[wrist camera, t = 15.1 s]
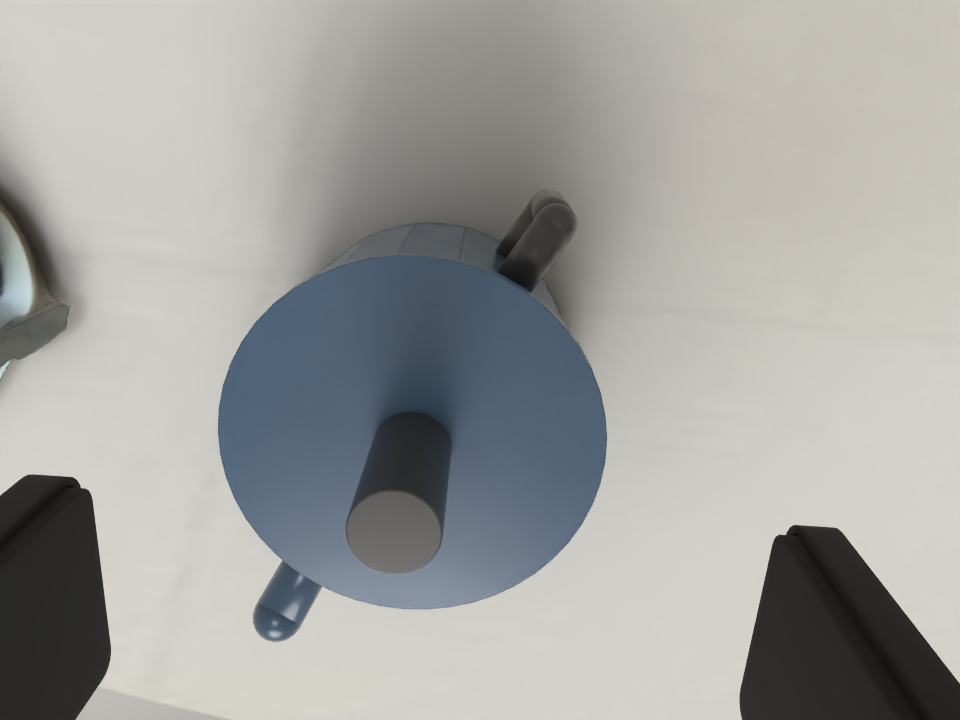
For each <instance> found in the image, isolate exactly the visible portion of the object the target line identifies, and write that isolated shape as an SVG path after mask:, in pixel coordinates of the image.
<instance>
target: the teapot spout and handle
mask: <svg viewBox="0 0 960 720" xmlns="http://www.w3.org/2000/svg"><path fill="white" fill-rule="evenodd" d="M576 227H577V220H576V216H575V214H574V212H573V211H572V209H571V208H570V207H569V205H568V204H567V203H566V201H565V200H564V199H563V197H562V196H561V195H560V194H559V193H558V192H556V191H553V190H543V191H540V192H538V193H537V194H536V195H535V196H534V197H533V198H532V200H531V201H530V202H529V204H528V205H527V207H526V208H525V209H524V211H523V212H522V214H521V215H520V217H519V218H518V219H517V221H516V222H515V224H514V225H513V226H512V228H511V229H510V231H509V232H508V234H507V235H506V236H505V238H504V239H503V241H502V242H501V243H500V245H499V246H498V248H497V249H496V251H497V252H498V253H499V254H501V255H502V256H504V257H506V259H505V261H504V262H503V264H502V265H501V266H500V268H499V269H498V271H497V272H498V273H499V274H501V275H503V276H505V277H507V278H508V279H510V280H512V281H513V282H515V283H517V284H519V285H520V286H522V287H524V288H525V289H527V290H528V291H529V292H530V293H531V292H532V291H533V289H534V288H535V287H536V285H537V284H538V283H539V281H540V280H541V279H542V277H543V276H544V274H545V273H546V272H547V270H548V269H549V268H550V266H551V265H552V264H553V262H554V261H555V259H556V258H557V257H558V255H559V254H560V253H561V251H562V250H563V249H564V247H565V246H566V245H567V243H568V242H569V240H570V239H571V238H572V236H573V235H574V233H575V231H576ZM321 588H322V586H321V585H319V584H317V583H315V582H313V581H312V580H310V579H309V578H307V577H305V576H304V575H302V574H301V573H299V572H298V571H296V570H295V569H293V568H292V567H291V566H290V565H288V564H287V563H286V562H285V561H284V560H282V562H281V563H280V565H279V567H278V568H277V570H276V572H275V574H274V575H273V577H272V579H271V580H270V582H269V584H268V585H267V587H266V589H265V591H264V592H263V594H262V596H261V597H260V599H259V601H258V602H257V604H256V607H255V609H254V612H253V624H254V627H255V629H256V631H257V633H258V634H259V635H260V636H261V637H262V638H264V639H266V640H268V641H273V642H280V641H284V640H286V639H288V638H290V637H292V636H293V635H294V634H295V633H296V632H297V631H298V629H299V628H300V626H301V624H302V623H303V621H304V619H305V617H306V615H307V613H308V612H309V610H310V608H311V606H312V604H313V603H314V601H315V599H316V597H317V595H318V593H319V592H320V590H321Z"/></svg>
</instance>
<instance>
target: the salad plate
mask: <svg viewBox="0 0 960 720" xmlns="http://www.w3.org/2000/svg"><path fill="white" fill-rule="evenodd" d="M69 308H70V306H69V305H67V304H64V303H61V302H59V301H55V300H53V299H52V298H51V296H50V294H49V292H48V290H47V288H46V286H45V284H44V281H43V278H42V275H41V271H40V268H39V265H38V262H37V259H36V257H35V254H34V252H33V249H32V247H31V244H30V242H29V239H28V237H27V235H26V233H25V231H24V229H23V227H22V226H21V224H20V222H19V220H18V219H17V217H16V216H15V214H14V213H13V211H12V210H11V209H10V207H9V206H8V205H7V204H6V203H5V202H4V200H3V199H2V198H1V197H0V379H1V377H2V374H3V373H4V371H5V370H6V368H7V366H8V364H9V363H10V362H11V360H12V359H14V358H16V359H22V358H25V357H26V356H28V355H30V354H32V353H34V352H35V351H37V350H39V349H40V348H42V347H44V346H45V345H46V344H48V343H50V342H51V341H52V340H53V339H54V338H56V337H57V336H58V335H59V334H61V333H62V332H63V331H64V330H65V329H66V323H67V315H68V313H69Z"/></svg>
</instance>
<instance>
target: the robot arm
mask: <svg viewBox="0 0 960 720" xmlns="http://www.w3.org/2000/svg"><path fill="white" fill-rule="evenodd" d="M110 656H111V645H110V637H109V629H108V621H107V613H106V605H105V597H104V589H103V581H102V573H101V565H100V557H99V549H98V541H97V533H96V525H95V517H94V508H93V500H92V496H91V494H90V492H89V491H88V490H87V489H82V488H81V487H80V484H79V483H78V481H77V480H76V479H75V478H73V477H62V476H47V475H27V476H25V477H23V478H22V479H20V480H19V481H18V482H17V483H15V484H14V485H13V486H12V487H10V488H9V489H8V490H7V491H6V492H4V493H3V494H2V495H1V496H0V720H75V719H76V718H77V716H78V715H79V713H80V712H81V710H82V709H83V707H84V706H85V705H86V703H87V702H88V700H89V699H90V697H91V696H92V694H93V693H94V691H95V690H96V688H97V687H98V685H99V684H100V682H101V681H102V679H103V678H104V676H105V674H106V672H107V669H108V666H109V662H110ZM740 711H741V717H742V720H960V684H959V682H958V681H957V680H956V678H955V677H954V676H953V675H952V673H951V672H950V671H949V669H948V668H947V667H946V666H945V664H944V663H943V662H942V660H941V659H940V658H939V657H938V655H937V654H936V653H935V651H934V650H933V649H932V648H931V646H930V645H929V644H928V642H927V641H926V640H925V639H924V637H923V636H922V635H921V633H920V632H919V631H918V630H917V628H916V627H915V626H914V624H913V623H912V622H911V621H910V619H909V618H908V617H907V615H906V614H905V613H904V611H903V610H902V609H901V608H900V606H899V605H898V604H897V602H896V601H895V600H894V599H893V597H892V596H891V595H890V593H889V592H888V591H887V590H886V588H885V587H884V586H883V584H882V583H881V582H880V581H879V579H878V578H877V577H876V575H875V574H874V573H873V572H872V570H871V569H870V568H869V566H868V565H867V564H866V563H865V561H864V560H863V559H862V557H861V556H860V555H859V554H858V552H857V551H856V550H855V548H854V547H853V546H852V545H851V543H850V542H849V541H848V539H847V538H846V537H845V536H844V534H843V533H842V532H841V531H840V530H839V529H837V528H830V527H815V526H800V525H793V526H792V527H790V529H789V530H788V532H787V534H786V535H778V536H776V538H775V540H774V542H773V545H772V549H771V554H770V559H769V563H768V568H767V572H766V577H765V581H764V586H763V590H762V595H761V599H760V604H759V608H758V613H757V617H756V622H755V626H754V631H753V635H752V640H751V644H750V649H749V654H748V658H747V663H746V667H745V672H744V676H743V681H742V685H741V690H740Z"/></svg>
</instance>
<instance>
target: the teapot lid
mask: <svg viewBox="0 0 960 720" xmlns="http://www.w3.org/2000/svg"><path fill="white" fill-rule="evenodd" d="M218 436H219V446H220V455H221V459H222V463H223V467H224V471H225V475H226V478H227V481H228V483H229V486H230V488H231V491H232V493H233V496H234V498H235V500H236V502H237V504H238V506H239V507H240V509H241V511H242V513H243V514H244V516H245V518H246V520H247V521H248V522H249V524H250V525H251V526H252V528H253V529H254V530H255V532H256V533H257V534H258V536H259V537H260V538H261V539H262V540H263V541H264V542H265V543H266V544H267V545H268V546H269V548H270V549H271V550H272V551H273V552H274V553H275V554H276V555H277V556H279V557H280V558H281V559H282V560H284V561H285V562H286V563H287V564H288V565H290V566H291V567H292V568H293V569H295V570H296V571H298V572H299V573H301V574H302V575H304V576H305V577H307V578H309V579H310V580H312V581H313V582H315V583H317V584H319V585H321V586H323V587H325V588H327V589H329V590H331V591H333V592H336V593H338V594H341V595H344V596H347V597H349V598H352V599H355V600H358V601H362V602H366V603H370V604H374V605H379V606H385V607H393V608H401V609H435V608H446V607H453V606H458V605H463V604H468V603H472V602H475V601H479V600H482V599H485V598H488V597H491V596H494V595H496V594H498V593H500V592H503V591H505V590H507V589H509V588H511V587H513V586H515V585H517V584H519V583H520V582H522V581H524V580H525V579H527V578H528V577H530V576H532V575H533V574H535V573H536V572H537V571H539V570H540V569H541V568H542V567H544V566H545V565H546V564H547V563H549V562H550V561H551V560H552V559H553V558H554V557H555V556H556V555H557V554H558V553H559V552H560V551H561V550H562V549H563V548H564V547H565V546H566V545H567V544H568V542H569V541H570V540H571V538H572V537H573V536H574V534H575V533H576V532H577V530H578V529H579V528H580V526H581V525H582V523H583V521H584V519H585V517H586V516H587V514H588V512H589V510H590V508H591V506H592V504H593V502H594V499H595V497H596V494H597V491H598V489H599V486H600V483H601V478H602V474H603V469H604V465H605V458H606V445H607V432H606V417H605V411H604V407H603V402H602V397H601V393H600V390H599V387H598V384H597V382H596V379H595V376H594V373H593V371H592V368H591V365H590V363H589V362H588V360H587V358H586V356H585V354H584V352H583V351H582V349H581V347H580V345H579V343H578V342H577V340H576V339H575V338H574V336H573V335H572V334H571V332H570V331H569V330H568V328H567V327H566V326H565V324H564V323H563V322H562V321H561V320H560V319H559V318H558V317H557V316H556V315H555V314H554V313H553V312H552V311H551V309H550V308H549V307H548V306H547V305H546V304H544V303H543V302H542V301H541V300H539V299H538V298H537V297H535V296H534V295H533V294H532V293H530V292H529V291H528V290H527V289H525V288H524V287H522V286H520V285H519V284H517V283H515V282H513V281H512V280H510V279H508V278H507V277H505V276H503V275H501V274H499V273H497V272H494V271H492V270H490V269H487V268H485V267H483V266H480V265H478V264H475V263H471V262H468V261H464V260H460V259H457V258H453V257H448V256H442V255H435V254H428V253H398V252H397V253H388V254H380V255H371V256H367V257H363V258H359V259H355V260H351V261H347V262H343V263H341V264H338V265H336V266H333V267H331V268H328V269H326V270H323V271H321V272H319V273H317V274H315V275H313V276H312V277H310V278H308V279H306V280H305V281H303V282H301V283H299V284H298V285H296V286H295V287H294V288H292V289H291V290H290V291H289V292H287V293H286V294H285V295H283V296H282V297H281V298H279V299H278V300H277V301H276V302H275V303H274V304H273V305H272V306H271V307H270V308H269V309H268V310H267V311H266V312H265V313H264V314H263V315H262V316H261V317H260V318H259V319H258V320H257V321H256V323H255V324H254V326H253V327H252V328H251V330H250V331H249V332H248V334H247V335H246V337H245V338H244V339H243V341H242V342H241V344H240V346H239V348H238V350H237V352H236V354H235V356H234V358H233V360H232V362H231V364H230V367H229V370H228V373H227V376H226V378H225V381H224V384H223V389H222V394H221V400H220V405H219V418H218Z"/></svg>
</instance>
